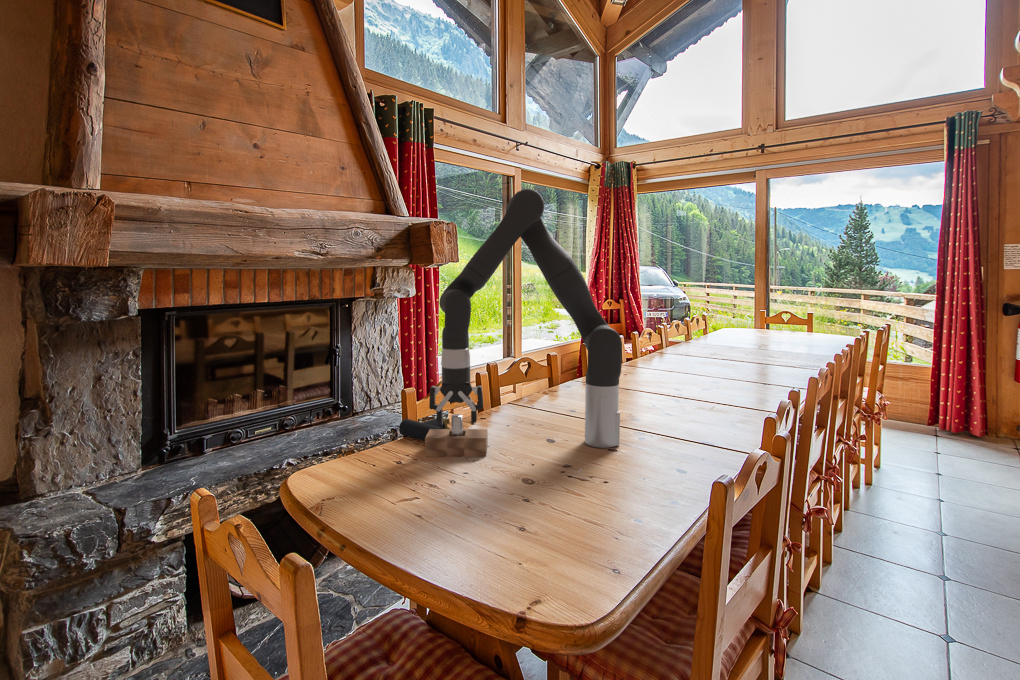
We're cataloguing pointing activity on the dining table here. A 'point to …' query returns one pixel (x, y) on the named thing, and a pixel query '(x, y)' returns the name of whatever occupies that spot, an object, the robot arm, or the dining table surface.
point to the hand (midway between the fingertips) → (456, 424)
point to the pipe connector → (420, 428)
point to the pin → (457, 424)
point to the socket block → (456, 443)
